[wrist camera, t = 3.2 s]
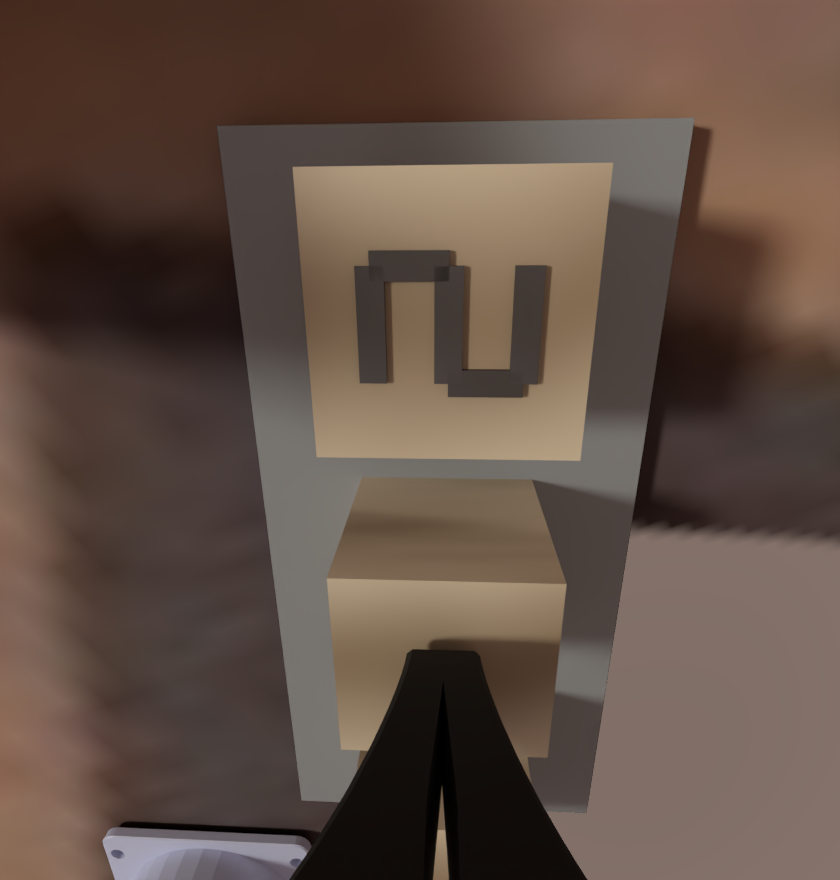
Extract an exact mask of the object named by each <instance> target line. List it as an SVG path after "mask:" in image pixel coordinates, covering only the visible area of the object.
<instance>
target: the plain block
mask: <svg viewBox="0 0 840 880" xmlns="http://www.w3.org/2000/svg"><path fill="white" fill-rule="evenodd" d="M566 586H567V584H566V581H565V578H564V575H563V572H562V569H561V566H560V563H559V560H558V557H557V554H556V551H555V548H554V545H553V542H552V539H551V536H550V533H549V530H548V527H547V524H546V521H545V518H544V515H543V512H542V509H541V506H540V503H539V500H538V497H537V494H536V491H535V488H534V485H533V482H532V479H465V478H398V477H362V479H361V481H360V484H359V487H358V490H357V493H356V496H355V499H354V502H353V504H352V507H351V510H350V513H349V516H348V519H347V522H346V525H345V527H344V530H343V533H342V536H341V539H340V542H339V545H338V548H337V550H336V553H335V556H334V559H333V562H332V565H331V568H330V571H329V573H328V576H327V587H328V599H329V611H330V623H331V635H332V647H333V659H334V671H335V683H336V695H337V707H338V719H339V731H340V743H341V750H363V751H368V750H369V748H370V746H371V744H372V742H373V740H374V738H375V736H376V734H377V731H378V729H379V727H380V725H381V723H382V721H383V718H384V716H385V714H386V712H387V710H388V708H389V705H390V703H391V700H392V698H393V695H394V693H395V690H396V688H397V685H398V682H399V679H400V677H401V673H402V670H403V667H404V664H405V659H406V655H407V653H408V652H410V651H411V650H412V649H425V650H459V651H475V652H476V653H478V654H479V655H480V658H481V663H482V667H483V670H484V674H485V677H486V680H487V684H488V687H489V689H490V692H491V695H492V698H493V700H494V703H495V706H496V708H497V711H498V713H499V716H500V718H501V721H502V723H503V725H504V727H505V730H506V732H507V734H508V736H509V739H510V741H511V743H512V745H513V747H514V750H515V752H516V754H517V756H518V757H540V758H547V757H548V748H549V739H550V730H551V721H552V712H553V703H554V694H555V685H556V676H557V667H558V658H559V649H560V640H561V631H562V622H563V613H564V604H565V595H566Z"/></svg>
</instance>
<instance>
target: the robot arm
mask: <svg viewBox="0 0 840 880" xmlns="http://www.w3.org/2000/svg"><path fill="white" fill-rule="evenodd" d="M441 789H442V792H443V805H444V819H445V833H446V847H447V860H448V874H449V880H587V879H586V877H585V876H584V874H583V872H582V871H581V869H580V868H579V866H578V865H577V863H576V861H575V860H574V858H573V857H572V855H571V853H570V851H569V850H568V848H567V847H566V845H565V843H564V842H563V840H562V838H561V837H560V835H559V833H558V832H557V830H556V828H555V826H554V825H553V823H552V821H551V819H550V818H549V816H548V814H547V812H546V810H545V808H544V807H543V805H542V803H541V801H540V799H539V797H538V796H537V794H536V792H535V790H534V788H533V786H532V784H531V782H530V780H529V778H528V776H527V774H526V772H525V770H524V768H523V766H522V764H521V762H520V760H519V758H518V756H517V754H516V752H515V750H514V747H513V745H512V743H511V741H510V739H509V736H508V734H507V732H506V730H505V727H504V725H503V723H502V721H501V718H500V716H499V713H498V711H497V708H496V706H495V703H494V700H493V698H492V695H491V692H490V689H489V687H488V684H487V680H486V677H485V674H484V670H483V667H482V663H481V658H480V655H479V654H478V653H476V652H475V651H459V650H425V649H412V650H411V651H410V652H408V653H407V655H406V659H405V664H404V667H403V670H402V673H401V677H400V679H399V682H398V685H397V688H396V690H395V693H394V695H393V698H392V700H391V703H390V705H389V708H388V710H387V712H386V714H385V716H384V718H383V721H382V723H381V725H380V727H379V729H378V731H377V734H376V736H375V738H374V740H373V742H372V744H371V746H370V748H369V750H368V752H367V754H366V756H365V757H364V759H363V761H362V763H361V765H360V767H359V769H358V770H357V772H356V774H355V776H354V778H353V780H352V782H351V783H350V785H349V787H348V789H347V791H346V792H345V794H344V796H343V797H342V799H341V801H340V803H339V804H338V806H337V808H336V809H335V811H334V812H333V814H332V816H331V817H330V819H329V821H328V822H327V824H326V825H325V827H324V828H323V830H322V832H321V833H320V835H319V836H318V838H317V839H316V841H315V843H314V844H313V846H312V847H311V844H310V842H309V841H308V840H307V839H306V838H304V837H302V836H296V835H275V834H254V833H233V832H212V831H191V830H170V829H149V828H127V827H114V828H112V829H110V830H109V831H108V833H107V834H106V836H105V838H104V840H103V845H104V848H105V851H106V854H107V857H108V860H109V863H110V866H111V869H112V872H113V875H114V878H115V880H433V875H434V864H435V853H436V843H437V832H438V822H439V811H440V800H441Z"/></svg>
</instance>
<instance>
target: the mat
mask: <svg viewBox="0 0 840 880" xmlns="http://www.w3.org/2000/svg"><path fill="white" fill-rule="evenodd" d="M694 119H695V118H654V119H595V120H536V121H476V122H417V123H358V124H298V125H239V126H217V132H218V140H219V148H220V156H221V163H222V171H223V179H224V187H225V195H226V203H227V211H228V219H229V227H230V235H231V243H232V251H233V259H234V267H235V275H236V282H237V290H238V298H239V306H240V314H241V322H242V330H243V338H244V346H245V354H246V362H247V370H248V378H249V386H250V394H251V401H252V409H253V417H254V425H255V433H256V441H257V449H258V457H259V465H260V473H261V481H262V489H263V497H264V505H265V513H266V521H267V528H268V536H269V544H270V552H271V560H272V568H273V576H274V584H275V592H276V600H277V608H278V616H279V624H280V632H281V640H282V647H283V655H284V663H285V671H286V679H287V687H288V695H289V703H290V711H291V719H292V727H293V735H294V743H295V751H296V759H297V766H298V774H299V782H300V790H301V798H302V800H304V801H326V802H340V801H341V799H342V797H343V796H344V794H345V792H346V791H347V789H348V787H349V785H350V783H351V782H352V780H353V778H354V776H355V774H356V772H357V766H358V760H359V754H360V750H341V743H340V731H339V719H338V707H337V695H336V683H335V671H334V659H333V647H332V635H331V623H330V611H329V599H328V587H327V576H328V573H329V571H330V568H331V565H332V562H333V559H334V556H335V553H336V550H337V548H338V545H339V542H340V539H341V536H342V533H343V530H344V527H345V525H346V522H347V519H348V516H349V513H350V510H351V507H352V504H353V502H354V499H355V496H356V493H357V490H358V487H359V484H360V481H361V479H362V477H398V478H465V479H532V482H533V485H534V488H535V491H536V494H537V497H538V500H539V503H540V506H541V509H542V512H543V515H544V518H545V521H546V524H547V527H548V530H549V533H550V536H551V539H552V542H553V545H554V548H555V551H556V554H557V557H558V560H559V563H560V566H561V569H562V572H563V575H564V578H565V581H566V584H567V586H566V595H565V604H564V613H563V622H562V631H561V640H560V649H559V658H558V667H557V676H556V685H555V694H554V703H553V712H552V721H551V730H550V739H549V748H548V757H547V758H540V757H527V758H528V765H529V771H530V778H531V784H532V786H533V788H534V790H535V792H536V794H537V796H538V797H539V799H540V801H541V803H542V805H543V807H544V808H545V810H546V811H553V812H554V811H555V812H575V813H586V812H587V806H588V800H589V794H590V787H591V781H592V774H593V768H594V762H595V754H596V749H597V742H598V735H599V729H600V723H601V716H602V710H603V703H604V697H605V691H606V684H607V678H608V672H609V665H610V659H611V652H612V646H613V639H614V632H615V626H616V620H617V614H618V607H619V601H620V594H621V587H622V582H623V574H624V569H625V562H626V556H627V549H628V543H629V537H630V530H631V524H632V517H633V511H634V504H635V498H636V492H637V485H638V479H639V472H640V466H641V459H642V453H643V447H644V440H645V434H646V427H647V421H648V414H649V408H650V402H651V395H652V389H653V382H654V376H655V369H656V363H657V357H658V350H659V344H660V337H661V331H662V324H663V318H664V312H665V305H666V299H667V292H668V286H669V279H670V273H671V267H672V260H673V254H674V247H675V241H676V234H677V228H678V222H679V215H680V209H681V202H682V196H683V189H684V183H685V177H686V170H687V164H688V157H689V151H690V144H691V138H692V132H693V125H694ZM549 163H613V170H612V179H611V188H610V197H609V206H608V215H607V224H606V233H605V242H604V251H603V260H602V270H601V279H600V288H599V297H598V306H597V315H596V324H595V333H594V342H593V351H592V360H591V369H590V378H589V387H588V396H587V405H586V414H585V423H584V432H583V441H582V450H581V459H580V461H561V460H486V459H410V458H334V457H317V455H316V443H315V431H314V419H313V407H312V395H311V383H310V371H309V359H308V347H307V335H306V323H305V311H304V299H303V287H302V275H301V263H300V251H299V239H298V227H297V215H296V203H295V191H294V179H293V167H319V166H396V165H473V164H549Z"/></svg>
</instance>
